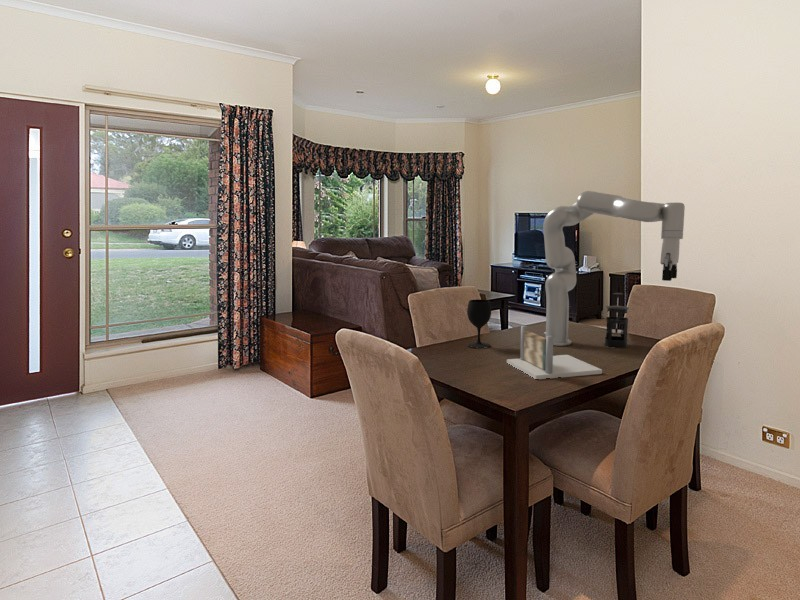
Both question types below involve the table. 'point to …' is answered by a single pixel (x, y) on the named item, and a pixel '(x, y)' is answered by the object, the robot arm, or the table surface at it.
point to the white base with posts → (553, 363)
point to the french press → (616, 340)
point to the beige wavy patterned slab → (535, 349)
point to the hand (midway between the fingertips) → (669, 279)
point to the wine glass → (479, 318)
